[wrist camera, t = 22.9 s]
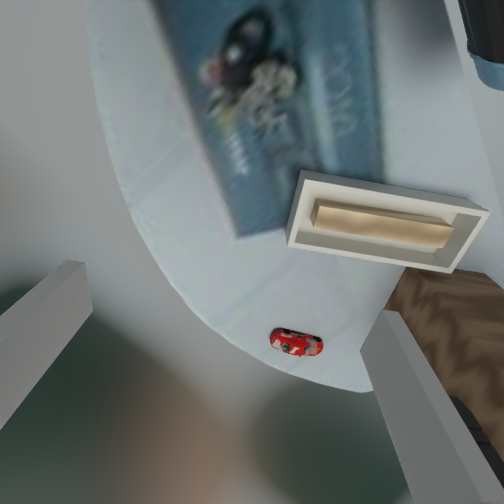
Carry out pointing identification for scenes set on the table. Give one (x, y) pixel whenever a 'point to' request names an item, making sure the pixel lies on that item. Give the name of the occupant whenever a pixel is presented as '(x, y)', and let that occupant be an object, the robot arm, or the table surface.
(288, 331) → the race car
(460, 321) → the wooden block
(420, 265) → the tray
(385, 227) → the wooden board
